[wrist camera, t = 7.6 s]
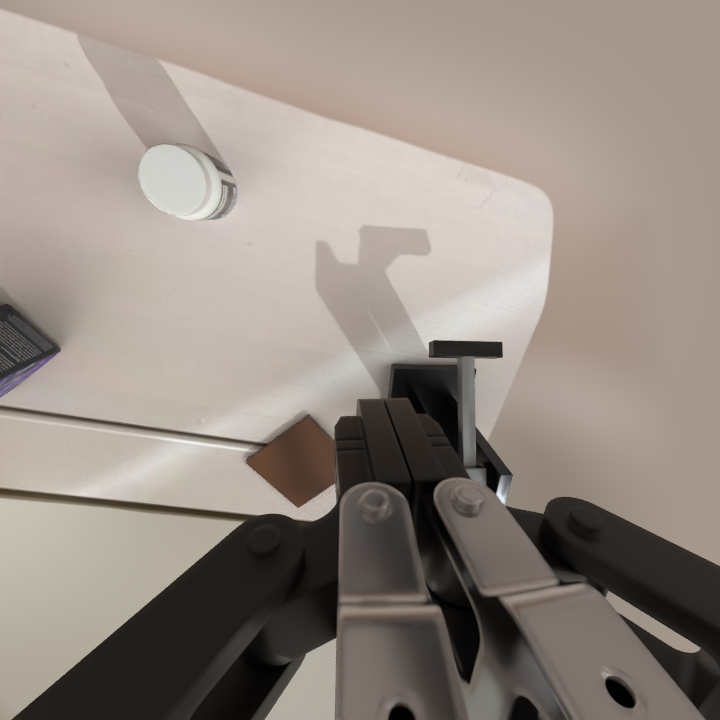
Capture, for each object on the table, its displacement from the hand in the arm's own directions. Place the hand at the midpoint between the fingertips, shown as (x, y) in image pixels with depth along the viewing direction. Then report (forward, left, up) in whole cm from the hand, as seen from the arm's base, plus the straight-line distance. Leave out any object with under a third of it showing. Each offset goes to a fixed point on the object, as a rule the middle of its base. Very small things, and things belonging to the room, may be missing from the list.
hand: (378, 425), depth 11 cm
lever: (-2, +14, -16) cm, 22 cm away
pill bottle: (+4, -12, -25) cm, 28 cm away
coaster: (+16, +14, -25) cm, 33 cm away
